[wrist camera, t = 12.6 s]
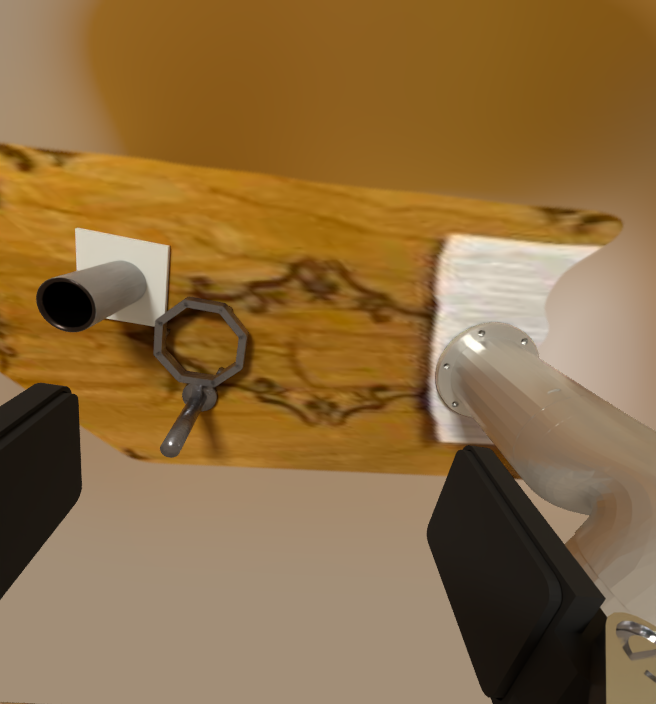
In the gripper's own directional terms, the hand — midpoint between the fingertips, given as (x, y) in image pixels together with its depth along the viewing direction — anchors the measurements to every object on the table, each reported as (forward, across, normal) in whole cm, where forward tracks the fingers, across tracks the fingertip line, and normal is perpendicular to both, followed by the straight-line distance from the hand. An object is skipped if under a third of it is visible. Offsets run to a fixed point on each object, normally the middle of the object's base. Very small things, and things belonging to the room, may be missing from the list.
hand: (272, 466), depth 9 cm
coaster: (+33, +18, +5) cm, 38 cm away
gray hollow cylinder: (+33, +18, +5) cm, 38 cm away
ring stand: (+33, +9, +12) cm, 37 cm away
